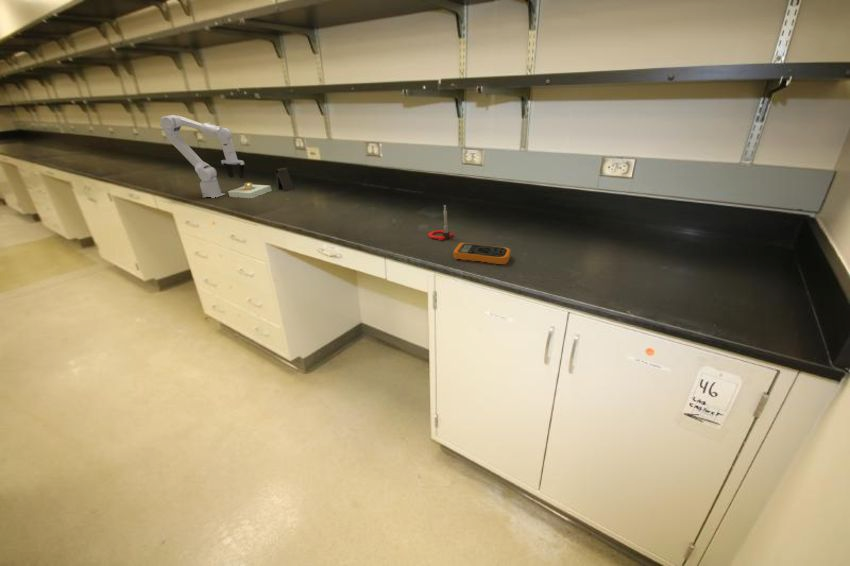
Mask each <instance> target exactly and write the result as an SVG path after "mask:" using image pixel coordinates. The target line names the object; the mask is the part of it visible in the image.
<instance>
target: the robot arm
mask: <svg viewBox="0 0 850 566" xmlns="http://www.w3.org/2000/svg"><path fill="white" fill-rule="evenodd" d="M159 122H160V123H159V124H160V127H161V128H162V130H163V132H164V135H165V138H167V140H168V141H169V142H170V143H171V144H172V145H173V146H174V147H175V148H176V149H177V150H178V151H179V152H180V154H181V155H183V157H185V159H186V160H187V161H188V162H189V163H190V164H191V165H192V166H193V167H194V170H195V172H196V173H197V175H198V178H199V179H200V180H201V181H200V183H199V187H200V190H201V194H202V196H201V197H202V198H206V197H211V198H210V199H216V198H219V197H221V196H225V195H226V193H222V190H221V187H220V184H219V181H218V178H217V173H218V172H217V170H216V168H215V167H213V166H211V165H210V164H209V163H207V162H205V161H203V160H202V159H201V158H200V156H198V154H197V153H196V152H195V151H194V150H193V149H192V148H191V147H190V146H189V145H188V144H187V143H186V141H184V140H183V138H182V137H181V136H180V130H181V128H182V127H187V128H192V129H196V130H200V131H201V132H202V133H203V134H204V135H207V136H210V137H214V138H217V139H218V140H219V141H220V144H221V145H220V146H221V148H222V151H223V154H224V158H225V159H222V160H220V162H221V168H223V169H224V171H225V172H226V173H227V175H228V177H229V178H230V179H231V178H234V170H233V165H234V168H235V170H236V171H237V173H238V176H239V178H240V179H244V178H245V168H246V164H245V161H244V160H241V159H238V156H237V153H236V148H235V145H234V142H233V139H232V137H233V133H232V131H231V130H230V129H229V128H227V127H222V126H221V125H215V124H212V122H209V121H208V122H204V123H201V122H198V121H196V120H193V119H190V118H187V117H184V116H181V115H177V114H171V115H163V116H161V118H160V121H159ZM215 197H216V198H215Z"/></svg>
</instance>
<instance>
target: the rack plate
mask: <svg viewBox="0 0 850 566" xmlns="http://www.w3.org/2000/svg"><path fill="white" fill-rule="evenodd" d="M252 186H253V189H251V190H246V189H245V186H244V185H243V186H240V187H237V188H234V189H231V190H229V191H228V192H227V193H228V196H229V198H238V197H239V198H241V199H250V198H251V199H253V198H257V197H259V195H260V196H262V195H265V194H267V192H268V193H270V192H272V190H273V189H272V186H271V185H265V184H254V183H252ZM251 199H250V200H251Z"/></svg>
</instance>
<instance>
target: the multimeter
mask: <svg viewBox="0 0 850 566" xmlns="http://www.w3.org/2000/svg"><path fill="white" fill-rule="evenodd" d="M453 258H454V259H455V260H456V259H462V260H461V261H466V260H471V261H470V262H474V261H481V262H480V263H482V262H489V263H496V264H505V263H506V264H507V263H508V262H509V260H510V258H511V249H510V248H508V247H503V246H494V245H483V244H475V243H467V242H459V243H458V245H457V246H456V247H455V249H454V250H453ZM489 263H488V264H489ZM496 264H495V265H496ZM506 264H505V265H506Z"/></svg>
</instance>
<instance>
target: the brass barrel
mask: <svg viewBox="0 0 850 566" xmlns="http://www.w3.org/2000/svg"><path fill="white" fill-rule="evenodd" d="M252 184H253V183H252V182H245V183H244V184H243V186H245V189H246V190H251V189H253V186H252Z"/></svg>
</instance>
